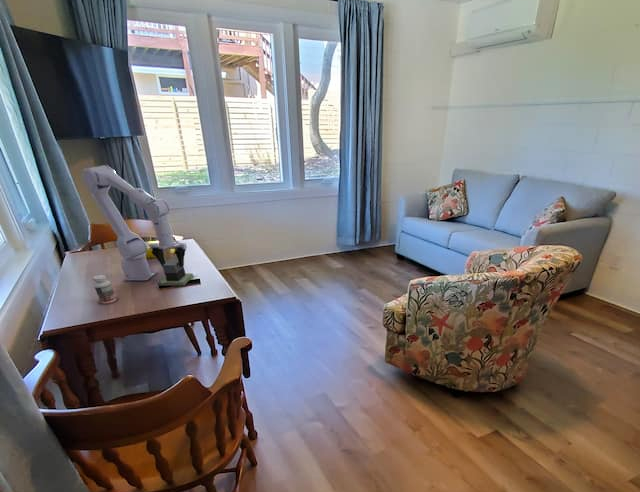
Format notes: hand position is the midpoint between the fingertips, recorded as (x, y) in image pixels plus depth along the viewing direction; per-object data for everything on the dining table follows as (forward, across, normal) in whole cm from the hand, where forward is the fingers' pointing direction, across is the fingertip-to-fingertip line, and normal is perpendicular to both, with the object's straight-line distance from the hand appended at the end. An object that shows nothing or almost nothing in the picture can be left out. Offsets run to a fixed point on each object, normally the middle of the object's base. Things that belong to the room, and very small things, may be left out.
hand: (173, 266), depth 164 cm
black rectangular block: (+5, 0, 0) cm, 5 cm away
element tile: (+7, -25, +36) cm, 44 cm away
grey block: (+2, 0, 0) cm, 2 cm away
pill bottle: (+7, -18, -20) cm, 28 cm away
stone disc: (+7, -11, +24) cm, 27 cm away
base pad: (+6, 0, 0) cm, 6 cm away
